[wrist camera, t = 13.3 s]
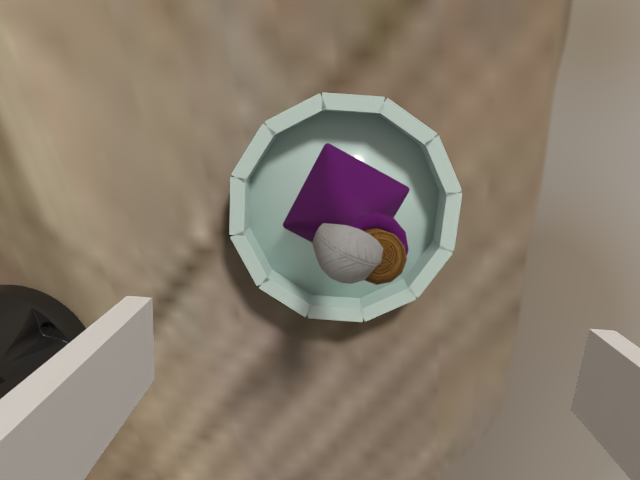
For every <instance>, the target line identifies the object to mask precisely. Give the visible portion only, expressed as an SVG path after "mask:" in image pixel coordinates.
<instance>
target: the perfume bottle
mask: <svg viewBox="0 0 640 480" xmlns="http://www.w3.org/2000/svg"><path fill="white" fill-rule="evenodd" d="M409 190H410V189H409V187H408V186H406V185H404V184H402V183H400V182H398V181H397V180H395V179H393V178H391V177H389V176H388V175H386V174H384V173H382V172H380V171H378V170H377V169H375V168H373V167H371V166H369V165H368V164H366V163H364V162H362V161H360V160H358V159H357V158H355V157H353V156H351V155H349V154H348V153H346V152H344V151H342V150H340V149H338V148H337V147H335V146H333V145H331V144H329V143H326V144H325V145H324V146H323V148H322V150H321V152H320V154H319V156H318V158H317V160H316V162H315V164H314V165H313V167H312V169H311V171H310V173H309V175H308V177H307V179H306V181H305V183H304V184H303V186H302V188H301V190H300V192H299V194H298V196H297V198H296V200H295V202H294V203H293V205H292V207H291V209H290V211H289V213H288V215H287V217H286V219H285V221H284V223H283V227H284V228H285V229H287V230H289V231H291V232H293V233H295V234H297V235H298V236H300V237H302V238H304V239H306V240H308V241H310V242H312V245H313V248H314V252H315V255H316V258H317V261H318V263H319V265H320V267H321V269H322V270H323V271H324V272H325V273H326V274H327V275H328V276H329V277H330V278H331V279H333V280H336V281H338V282H340V283H348V284H353V283H356V282H360V281H363V280H365V281H367V282H370V283H373V284H376V285H379V284H384V283H390V282H392V281H393V280H394V279H396V278H397V277H398V276H399V275H400V274H402V272H403V269H404V267H405V264H406V261H407V257H406V256H407V254H408V250H409V249H408V243H407V237H406V232H405V231H404V230H403V228H402V227H401V226H400V225H399V224H398V222H397V221H396V220H395V219H394V217H395V215H396V213H397V211H398V210H399V208H400V206H401V205H402V203H403V201H404V200H405V198H406V196H407V194H408V193H409Z"/></svg>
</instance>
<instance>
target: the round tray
mask: <svg viewBox="0 0 640 480" xmlns="http://www.w3.org/2000/svg"><path fill="white" fill-rule="evenodd" d="M265 123H266V124H262V125H261V127H260V129H259V130H258V132H257V133H256V135H255V137H254V138H253V140H252V142H251V143H250V145H249V146H248V148H247V150H246V151H245V153H244V154H243V156H242V158H241V159H240V161H239V163H238V164H237V166H236V167H235V169H234V171H233V172H232V174H231V175H233V176H232V177H230V223H229V235H232V236H231V237H230V238H231V240H232V242H233V244H234V246H235V247H236V249H237V251H238V253H239V255H240V257H241V258H242V260H243V262H244V264H245V266H246V267H247V269H248V271H249V273H250V275H251V277H252V278H253V280H254V282H255V284H256V286H258V285H260V286H259V289H261V290H262V291H264V292H266V293H267V294H269V295H270V296H272V297H273V298H275V299H277V300H278V301H280V302H281V303H283V304H285V305H286V306H288V307H289V308H291V309H293V310H294V311H296V312H297V313H299V314H300V315H302V316H304V317H306V316H307V314H308V318H310V319H324V320H338V321H352V322H363V318H364V320H365V322H366V321H368V320H371V319H373V318H375V317H377V316H380V315H382V314H384V313H386V312H389V311H391V310H393V309H396V308H398V307H400V306H402V305H405V304H407V303H409V302H411V301H414V300H416V298H415V296H416V297H419V296H420V295H421V294H422V292H423V291H424V290H425V288H426V287H427V286H428V285H429V283H430V282H431V281H432V279H433V278H434V277H435V276H436V274H437V273H438V272H439V270H440V269H441V268H442V267H443V265H444V264H445V263H446V261H447V260H448V259H449V258H450V256H451V255H452V254H453V253H452V252H451V251H450V250H452V251H454V247H455V241H456V234H457V227H458V220H459V213H460V206H461V199H462V193H460V191H462V189H461V187H460V185H459V182H458V180H457V178H456V175H455V173H454V170H453V168H452V166H451V163H450V161H449V158H448V156H447V154H446V151H445V149H444V146H443V144H442V142H441V139H440V137H439V136H436V134H437V133H436V132H434V131H433V130H432V129H430V128H429V127H427V126H426V125H425V124H423V123H422V122H420V121H419V120H418V119H416V118H415V117H413V116H412V115H411V114H409V113H408V112H407V111H405V110H404V109H402V108H401V107H400V106H398V105H397V104H395V103H394V102H393V101H391V100H390V99H388V98H386V99H385V97H380V96H365V95H351V94H336V93H322V97H321V95H320V93H319V94H317V95H315V96H313V97H311V98H309V99H307V100H305V101H303V102H302V103H300V104H298V105H296V106H294V107H292V108H290V109H288V110H286V111H284V112H282V113H280V114H278V115H276V116H274V117H273V118H271V119H269V120H267V121H265ZM326 143H329V144H331V145H333V146H335V147H337V148H338V149H340V150H342V151H344V152H346V153H348V154H349V155H351V156H353V157H355V158H357V159H358V160H360V161H362V162H364V163H366V164H368V165H369V166H371V167H373V168H375V169H377V170H378V171H380V172H382V173H384V174H386V175H388V176H389V177H391V178H393V179H395V180H397V181H398V182H400V183H402V184H404V185H406V186H408V187H409V189H410V190H409V193H408V194H407V196H406V198H405V200H404V201H403V203H402V205H401V206H400V208H399V210H398V211H397V213H396V215H395V217H394V219H395V220H396V221H397V222H398V224H399V225H400V226H401V227H402V228H403V230H404V231H405V232H406V237H407V243H408V249H409V250H408V254H407V256H406V257H407V261H406V264H405V267H404V269H403V272H402V274H400V275H399V276H398V277H397V278H396V279H394V280H393V281H392V282H390V283H384V284H379V285H376V284H373V283H370V282H367V281H365V280H363V281H360V282H356V283H353V284H348V283H340V282H338V281H336V280H333V279H331V278H330V277H329V276H328V275H327V274H326V273H325V272H324V271H323V270H322V269H321V267H320V265H319V263H318V261H317V258H316V255H315V252H314V248H313V245H312V242H310V241H308V240H306V239H304V238H302V237H300V236H298V235H297V234H295V233H293V232H291V231H289V230H287V229H285V228H284V227H283V223H284V221H285V219H286V217H287V215H288V213H289V211H290V209H291V207H292V205H293V203H294V202H295V200H296V198H297V196H298V194H299V192H300V190H301V188H302V186H303V184H304V183H305V181H306V179H307V177H308V175H309V173H310V171H311V169H312V167H313V165H314V164H315V162H316V160H317V158H318V156H319V154H320V152H321V150H322V148H323V146H324V145H325V144H326ZM414 295H415V296H414Z"/></svg>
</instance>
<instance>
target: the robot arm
mask: <svg viewBox="0 0 640 480" xmlns="http://www.w3.org/2000/svg"><path fill="white" fill-rule="evenodd" d="M153 381H154V346H153V303H152V298H150V297H136V296H126V297H125V298H124V299H123V300H121V301H120V302H119V303H118V304H116V305H115V306H114V307H113V308H112V309H110V310H109V311H108V312H107V313H105V314H104V315H103V316H102V317H101V318H99V319H98V320H97V321H96V322H94V323H93V324H92V325H91V326H89V327H88V328H87V329H85V327H84V326H83V324H82V323H81V321H80V320H79V319H78V318H77V317H76V316H75V315H74V313H72V312H71V311H70V310H69V309H68V308H67V307H66V306H65V305H63V304H62V303H60V302H59V301H57V300H56V299H54V298H53V297H51V296H49V295H47V294H45V293H43V292H40V291H38V290H35V289H31V288H28V287H23V286H17V285H0V480H84V479H85V478H86V476H87V475H88V473H89V472H90V470H91V469H92V468H93V466H94V465H95V463H96V462H97V460H98V459H99V458H100V456H101V455H102V453H103V452H104V451H105V449H106V448H107V446H108V445H109V443H110V442H111V441H112V439H113V438H114V436H115V435H116V433H117V432H118V431H119V429H120V428H121V426H122V425H123V424H124V422H125V421H126V419H127V418H128V416H129V415H130V414H131V412H132V411H133V409H134V408H135V406H136V405H137V404H138V402H139V401H140V399H141V398H142V397H143V395H144V394H145V392H146V391H147V389H148V388H149V387H150V385H151V384H152V382H153ZM571 411H572V412H573V413H574V414H575V415H576V416H577V418H578V419H579V420H580V421H581V422H582V423H583V424H584V426H585V427H586V428H587V429H588V430H589V432H590V433H591V434H592V435H593V436H594V437H595V438H596V440H597V441H598V442H599V443H600V444H601V445H602V447H604V449H605V450H606V451H607V452H608V453H609V455H610V456H611V457H612V458H613V459H614V461H615V462H616V463H617V464H618V465H619V466H620V467H621V469H622V470H623V471H624V472H625V473H626V474H627V475H628V477H629V478H630V479H631V480H640V348H639V347H637V346H636V345H634V344H633V343H632V342H630V341H628V340H627V339H626V338H625V337H623V336H622V335H620V334H619V333H617V332H616V331H611V330H597V329H589V333H588V337H587V342H586V346H585V350H584V355H583V359H582V363H581V368H580V372H579V377H578V381H577V385H576V390H575V394H574V398H573V403H572V407H571Z"/></svg>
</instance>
